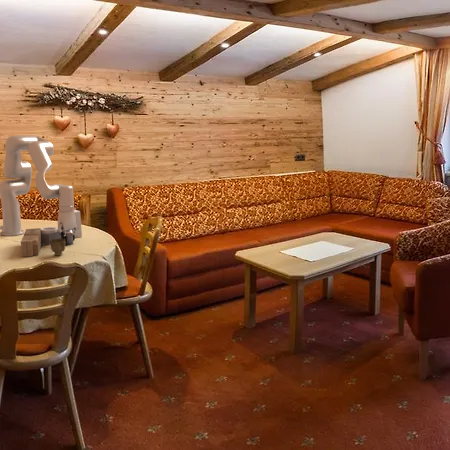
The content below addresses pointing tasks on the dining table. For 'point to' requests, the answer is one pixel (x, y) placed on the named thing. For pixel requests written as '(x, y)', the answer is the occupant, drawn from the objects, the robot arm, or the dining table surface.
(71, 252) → the dining table surface
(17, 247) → the dining table surface
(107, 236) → the dining table surface
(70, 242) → the lens
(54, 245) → the cup
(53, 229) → the camera body
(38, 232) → the block tower
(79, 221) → the skincare box
